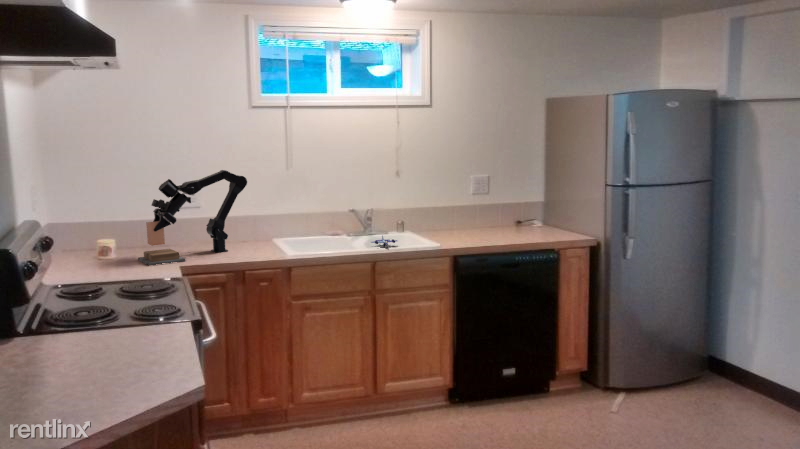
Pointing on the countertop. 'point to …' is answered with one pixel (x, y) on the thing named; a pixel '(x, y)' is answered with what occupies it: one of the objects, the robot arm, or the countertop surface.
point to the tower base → (161, 257)
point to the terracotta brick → (154, 234)
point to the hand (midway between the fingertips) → (152, 230)
